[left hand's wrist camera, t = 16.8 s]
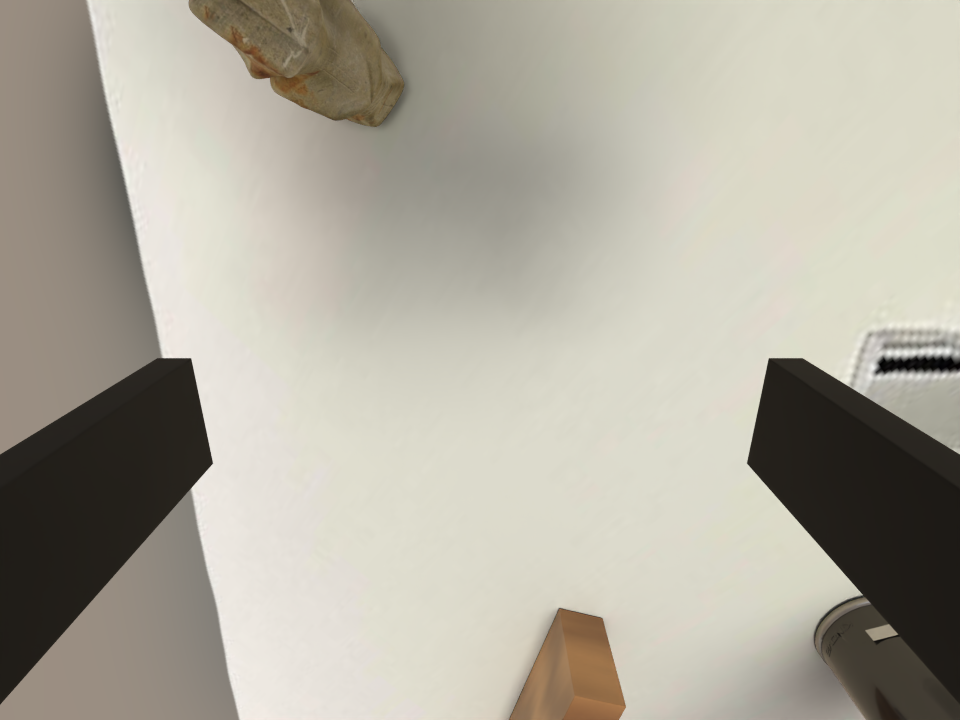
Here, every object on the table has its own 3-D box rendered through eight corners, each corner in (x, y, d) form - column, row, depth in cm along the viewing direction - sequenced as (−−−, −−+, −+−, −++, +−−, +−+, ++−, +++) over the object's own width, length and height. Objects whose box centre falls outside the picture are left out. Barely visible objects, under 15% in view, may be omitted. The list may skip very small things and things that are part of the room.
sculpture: (334, -6, 33) (228, -127, 19) (424, 77, 35) (386, 21, 21) (284, 73, 35) (152, 14, 21) (372, 149, 36) (304, 142, 22)
